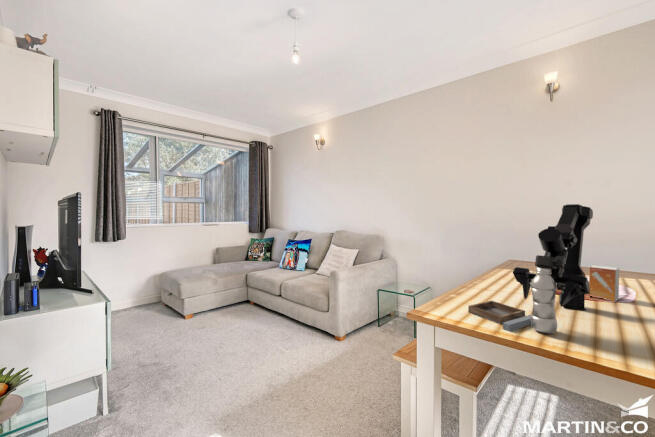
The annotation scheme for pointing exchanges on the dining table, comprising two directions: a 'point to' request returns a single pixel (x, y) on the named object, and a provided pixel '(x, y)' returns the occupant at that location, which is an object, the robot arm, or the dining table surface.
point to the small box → (604, 282)
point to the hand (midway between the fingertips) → (542, 301)
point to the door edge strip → (517, 323)
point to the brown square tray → (496, 311)
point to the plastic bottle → (543, 301)
